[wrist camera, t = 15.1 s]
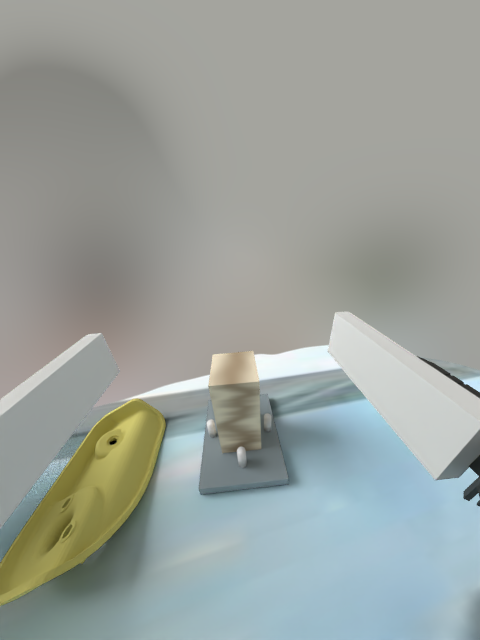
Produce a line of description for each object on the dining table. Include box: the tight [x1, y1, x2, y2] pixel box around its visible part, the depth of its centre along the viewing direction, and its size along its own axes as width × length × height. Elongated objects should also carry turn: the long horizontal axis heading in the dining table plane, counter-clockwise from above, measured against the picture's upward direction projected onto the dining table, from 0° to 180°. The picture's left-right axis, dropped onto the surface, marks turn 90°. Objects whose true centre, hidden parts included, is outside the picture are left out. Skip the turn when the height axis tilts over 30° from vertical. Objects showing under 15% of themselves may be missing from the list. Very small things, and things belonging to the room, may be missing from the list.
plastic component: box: [0, 399, 166, 606], centre depth 25 cm, size 20×7×10 cm
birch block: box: [208, 351, 261, 453], centre depth 27 cm, size 6×6×14 cm
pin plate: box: [199, 394, 289, 494], centre depth 30 cm, size 12×14×4 cm
